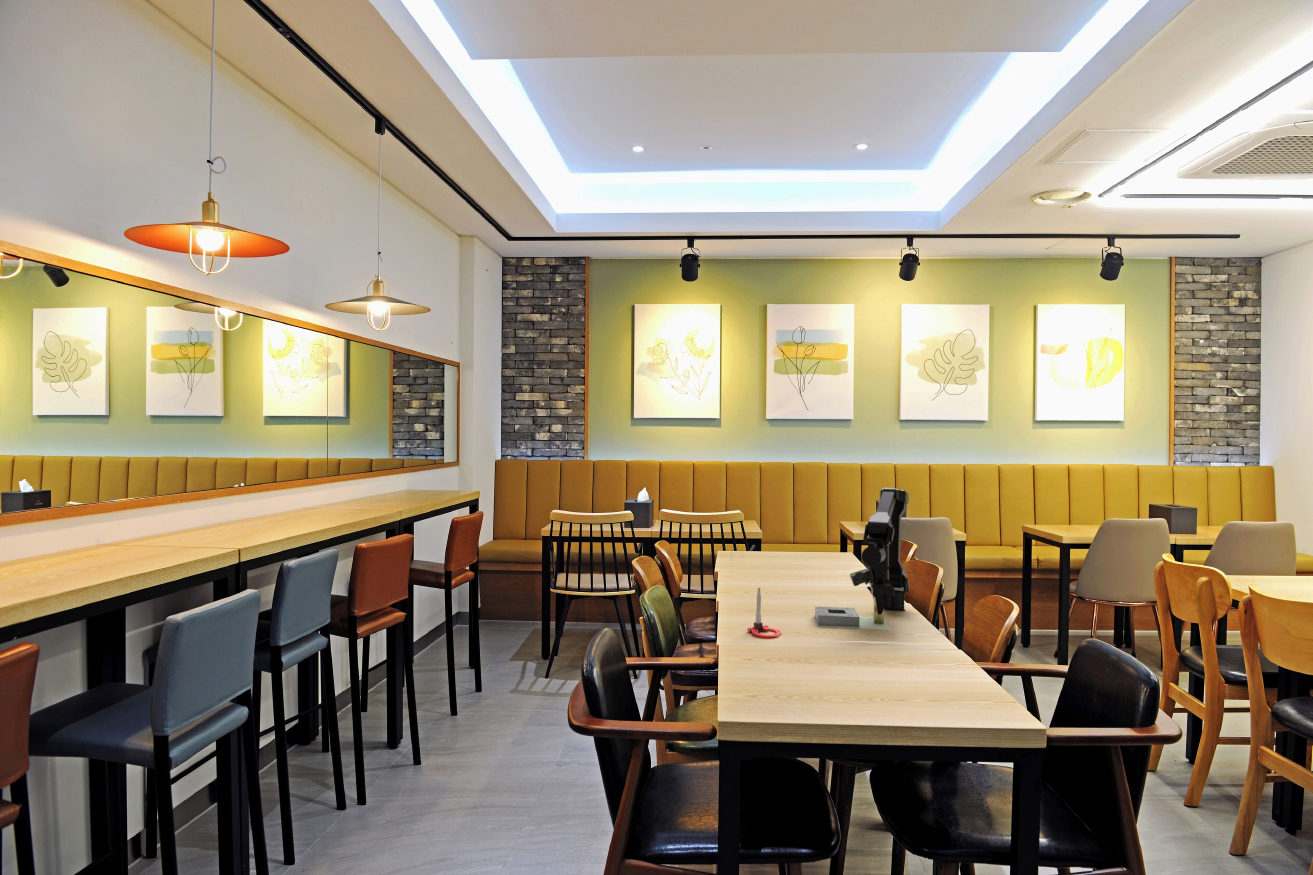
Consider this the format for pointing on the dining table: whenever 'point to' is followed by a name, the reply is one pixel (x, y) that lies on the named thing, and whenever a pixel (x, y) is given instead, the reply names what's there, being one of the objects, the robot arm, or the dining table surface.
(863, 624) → the mat
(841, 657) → the dining table surface
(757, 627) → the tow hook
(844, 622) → the block
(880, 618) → the pin
